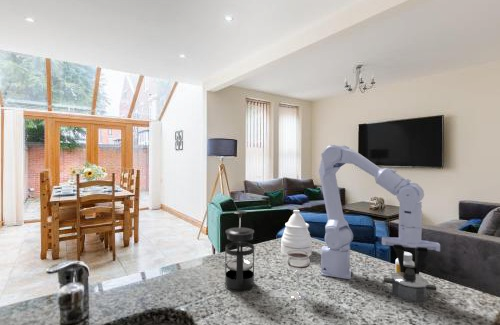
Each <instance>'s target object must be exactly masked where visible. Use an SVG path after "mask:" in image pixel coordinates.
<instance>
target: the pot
mask: <svg viewBox="0 0 500 325" xmlns="http://www.w3.org/2000/svg"><path fill="white" fill-rule="evenodd" d="M383 283H384V284H390V285H391V293H392V295H393V296H394V297H396V298H397V299H398V300H399V299H400V300H401V301H404V302H407V303H411V304H412V303H413V304H423V303H425V302H426V301H428V299H427V298H428V290H429V291H434V292H437V286H436V285H435V284H429V283H428V286H427V287H425V288H412V287H407V286H404V285H401V284H398V283H396V282H395V281H393V280H392V278H388V277H383Z"/></svg>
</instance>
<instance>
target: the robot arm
mask: <svg viewBox="0 0 500 325" xmlns="http://www.w3.org/2000/svg"><path fill="white" fill-rule="evenodd" d="M320 156H321V161H320V164H319V169H318V173H319V179H320V184H321V190H322V194H323V200H324V206H325V211H326V215H327V216H326V217H327V222H326V224H325V226H324V229H325V233H324V234H325V235H324V243H325V245H322V246H321V254H320V258H321V260H320V275H321V276H326V277H334V278H338V279H339V278H340V279H345V280H346V279H347V280H351V279H352V278H351V276H352V269H351V246H350V243H351V242H352V241H353V240H354V233H353V231H352V229H351V227H350V226H349V222H348V220H346V219H345V217H344V212H343V206H342V201H341V196H340V190H339V185H338V180H337V176H336V174H337V172H338V171H339V170H340V169H341V167H343V166H344V165H346V164H351V165H354V166H355V167H357V168H359V169H360V170H362V171H364V172H366V173H367V174H369V175H371V176H372V177H373V178H374V180H375V183H376V184H377V185H378V186H380V187H381V188H383V189H385V190H386V191H387V192H389V193H390V194H392V195H393V196H396V199H397V200H398V202H399V208H398V237H394V236H393V237H391V236H390V237H389V236H388V237H387V236H381V245H382V246H392V248H393V250H394V253H395V254H396V257H397V258H398V261H399V265H400V271H401V272H403V273H404V264H403V259H404V252H405V251H404V248H413V249H414V256H415V258H414V259H415V260H414V263H415V267H416V275H418V276H420V271H421V268H422V265H423V264H424V262H425V260H426V258H427V257H428V255H429V251H435V252H441V244H440V243H439V242H435V241H429V240H422V231H423V229H422V226H423V225H422V224H423V223H422V222H423V221H422V220H423V211H422V207H423V205H422V200H424V197H425V193H424V189H423V187H421V185H419V184H418V183H416V182H411V181H412V180H411V179H409V178H405V177H403V176H401V175H400V174H398V173H396V172H397V170H395V169H394V168H391V169H390V168H389V167H385V168H381V167H379V166H378V165H377V164H375V163H374V162H372V161H370V160H369V159H368V158H367V157H365V156H363V155H362V154H361V153H359V152H358V151H356V150H354V149H353V148H350V147H349V146H346V145H336V144H329V145H328V146H326V147H325V148H324V149H323V151H322V152H321V153H320ZM428 250H429V251H428Z"/></svg>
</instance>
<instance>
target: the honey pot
mask: <svg viewBox="0 0 500 325" xmlns="http://www.w3.org/2000/svg"><path fill="white" fill-rule="evenodd" d="M292 212H293V213H292V215H290V217H289V219H288V221H287V222H285V224H284V225H285V228H284V230H283V234H282V236H281V239H280V240H281V245H280V252H281V254H283V255H285V256H286V257H288V255H287V252H288V251H291V250H302V251H306V252H308V253H309V254H310V256H312V254H313V240H312V238H311V235H310V234H311V233H310V231H309V227H310V224H309V223H307V222H306V221H305V219H304V217H303V215H302V214H301V213H300V210H299V209H293V211H292Z"/></svg>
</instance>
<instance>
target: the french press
mask: <svg viewBox="0 0 500 325" xmlns="http://www.w3.org/2000/svg"><path fill="white" fill-rule="evenodd" d="M233 214H235V215H238V218H239V221H238V222H239V223H238V224H239V225H238V227H230V228H228V229H226V230H225V234H226V239H227V240H229V241H231V242H230V243H228V244H226V245H225V246H224V247H225V255H224V256H225V257H224V258H225V260H224V261H225V263H224V264H225V272H224V273H225V275H224V276H225V277H224V278H225V280H224V287H225V288H226V290H228V291H231V292H236V293H237V292H238V293H245V292H247V291H250V290H252V289H253V288H254V287H255V245H254V244H252V243H249V241H251V240H253V238H254V234H255V230H254V229H252V228H249V227H241V222H242V221H241V218H243V217H242V215H246V214H247V211H244V210H236V211H233ZM235 247H236V250H232V249H230V248H235ZM243 247H246V248H250V249H248V250H243ZM227 254H228V255H231V256H236V259H232V260H229V261H228V262H227ZM249 255H252V261H251V260H247V259H244V256H249ZM227 269H228V270H227Z"/></svg>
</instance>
